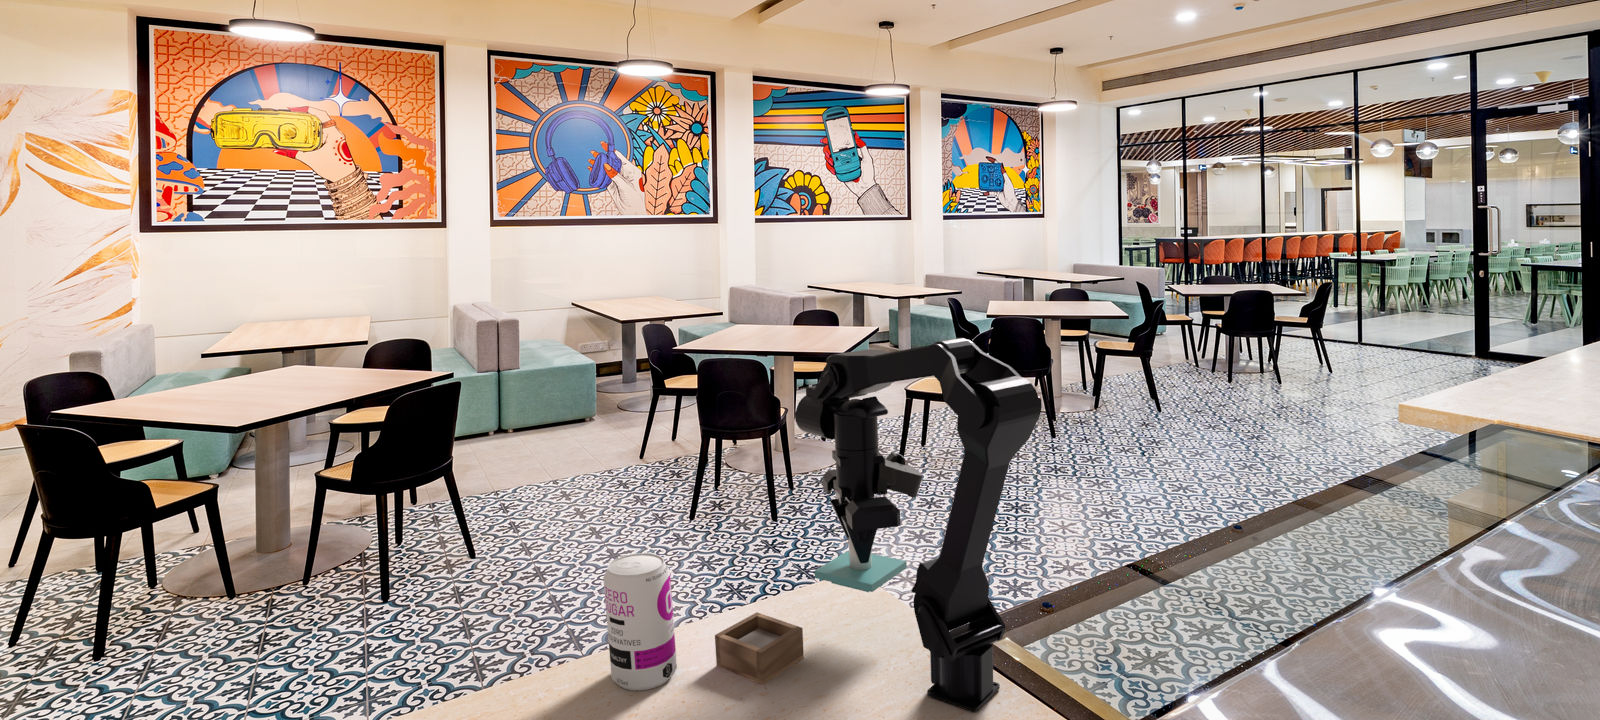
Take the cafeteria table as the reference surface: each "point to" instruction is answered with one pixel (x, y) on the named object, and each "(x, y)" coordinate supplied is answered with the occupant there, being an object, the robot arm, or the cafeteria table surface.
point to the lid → (860, 570)
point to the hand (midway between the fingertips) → (861, 558)
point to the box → (759, 647)
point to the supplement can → (640, 621)
